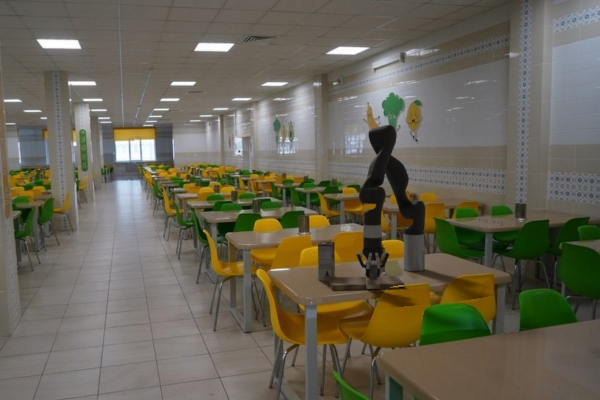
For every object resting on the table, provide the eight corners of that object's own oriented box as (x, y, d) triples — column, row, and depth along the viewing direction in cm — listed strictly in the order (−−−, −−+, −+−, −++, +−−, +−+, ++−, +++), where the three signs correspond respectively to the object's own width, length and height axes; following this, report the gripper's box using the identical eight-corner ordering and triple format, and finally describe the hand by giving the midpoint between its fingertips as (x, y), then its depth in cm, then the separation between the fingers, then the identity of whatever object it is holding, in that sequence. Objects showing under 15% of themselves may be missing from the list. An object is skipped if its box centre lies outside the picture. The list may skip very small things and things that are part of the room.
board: (396, 280, 230) (396, 275, 230) (404, 288, 216) (404, 283, 216) (328, 282, 228) (328, 277, 228) (332, 290, 214) (331, 285, 214)
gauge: (373, 281, 226) (373, 258, 225) (379, 289, 213) (379, 264, 212) (361, 281, 226) (361, 258, 225) (367, 289, 213) (367, 265, 212)
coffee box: (321, 275, 240) (320, 241, 239) (335, 276, 239) (334, 241, 238) (318, 280, 232) (317, 244, 230) (332, 281, 230) (332, 244, 229)
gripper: (387, 233, 216) (387, 274, 218) (353, 234, 216) (354, 275, 217) (391, 236, 209) (391, 279, 210) (356, 237, 208) (357, 280, 210)
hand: (372, 277), depth 214 cm, fingers closed on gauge, 3 cm apart
